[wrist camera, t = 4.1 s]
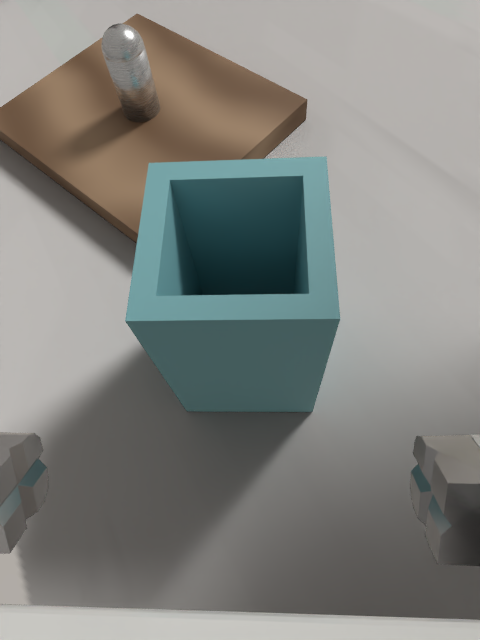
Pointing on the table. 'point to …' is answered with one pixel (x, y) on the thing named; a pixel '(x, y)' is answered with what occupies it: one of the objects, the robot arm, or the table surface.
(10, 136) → the walnut plate
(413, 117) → the table surface
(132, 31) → the steel stub
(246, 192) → the teal sleeve
